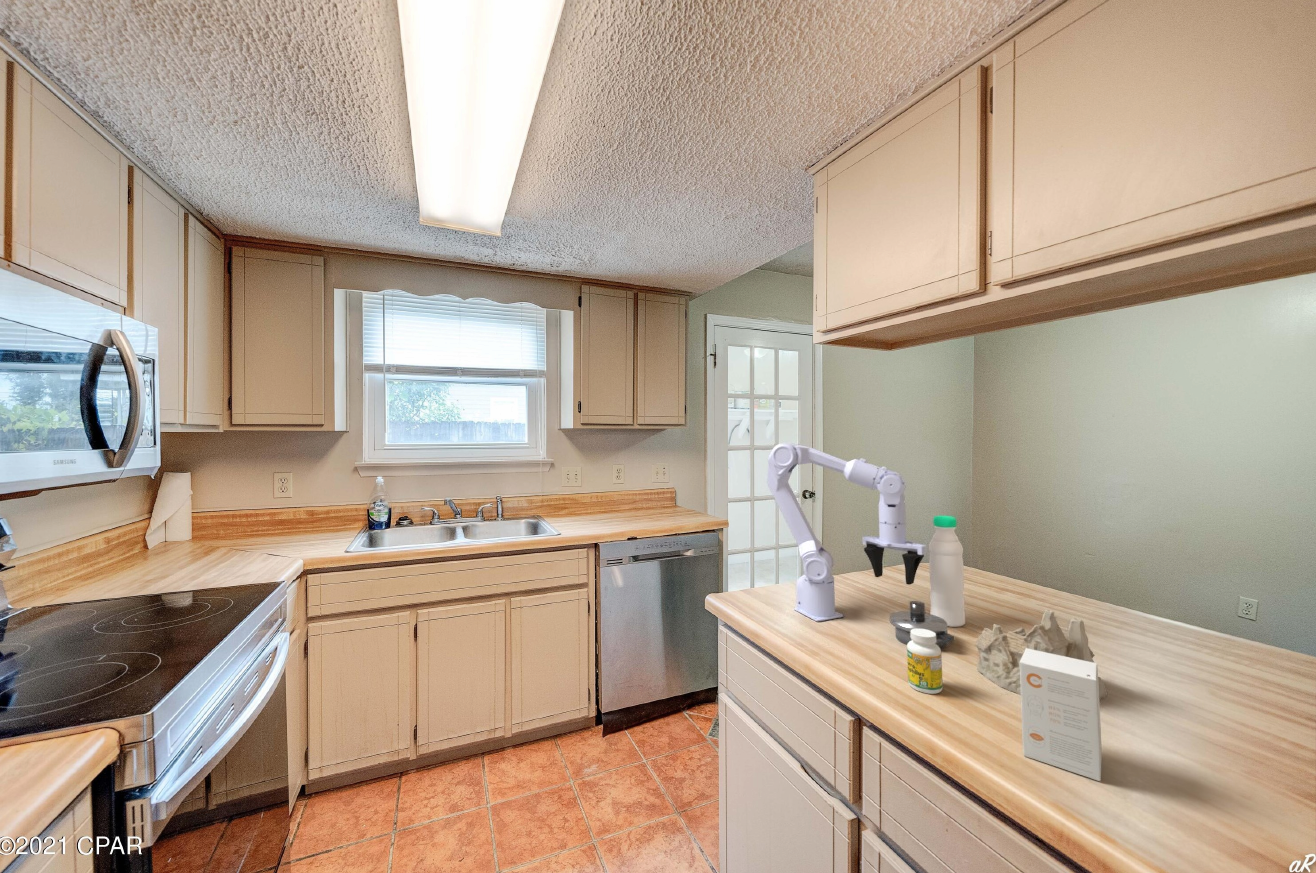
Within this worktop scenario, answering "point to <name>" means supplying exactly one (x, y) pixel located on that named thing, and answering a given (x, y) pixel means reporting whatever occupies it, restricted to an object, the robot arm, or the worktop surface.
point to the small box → (1061, 712)
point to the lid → (918, 619)
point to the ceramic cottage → (1007, 649)
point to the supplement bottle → (924, 662)
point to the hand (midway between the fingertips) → (893, 579)
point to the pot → (940, 638)
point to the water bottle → (946, 572)
